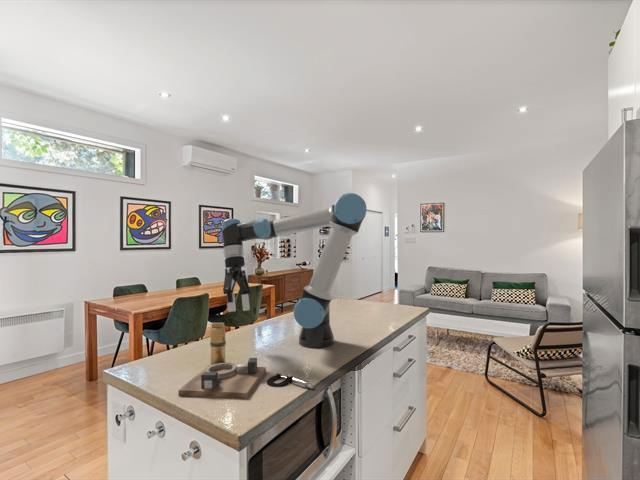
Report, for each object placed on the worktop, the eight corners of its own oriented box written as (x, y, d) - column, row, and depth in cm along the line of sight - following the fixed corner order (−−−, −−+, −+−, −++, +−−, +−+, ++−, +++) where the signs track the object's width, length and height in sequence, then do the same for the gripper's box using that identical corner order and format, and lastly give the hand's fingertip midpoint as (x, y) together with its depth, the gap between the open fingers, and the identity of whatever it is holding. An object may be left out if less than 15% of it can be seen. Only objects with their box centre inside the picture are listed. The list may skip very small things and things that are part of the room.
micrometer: (261, 384, 100) (261, 376, 100) (278, 376, 106) (278, 369, 106) (298, 398, 91) (297, 389, 91) (314, 389, 97) (314, 380, 97)
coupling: (228, 361, 119) (227, 321, 119) (222, 367, 114) (221, 325, 114) (214, 361, 120) (214, 321, 120) (207, 366, 114) (207, 324, 115)
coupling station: (265, 371, 109) (265, 355, 109) (246, 398, 90) (246, 379, 90) (208, 369, 111) (208, 354, 111) (178, 395, 93) (178, 376, 93)
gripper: (238, 262, 144) (243, 311, 139) (210, 254, 119) (215, 313, 115) (254, 259, 143) (260, 308, 138) (229, 251, 118) (235, 310, 114)
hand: (239, 311), depth 127 cm, fingers open, 13 cm apart
